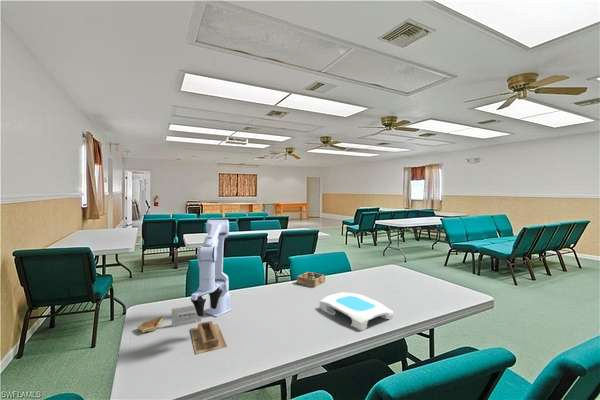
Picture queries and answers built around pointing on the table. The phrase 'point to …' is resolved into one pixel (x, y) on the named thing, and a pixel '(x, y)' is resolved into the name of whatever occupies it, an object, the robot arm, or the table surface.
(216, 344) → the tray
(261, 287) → the table surface
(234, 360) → the table surface
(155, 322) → the shard
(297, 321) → the table surface
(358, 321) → the white step stool
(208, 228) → the robot arm
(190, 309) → the cassette
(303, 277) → the deck stand
